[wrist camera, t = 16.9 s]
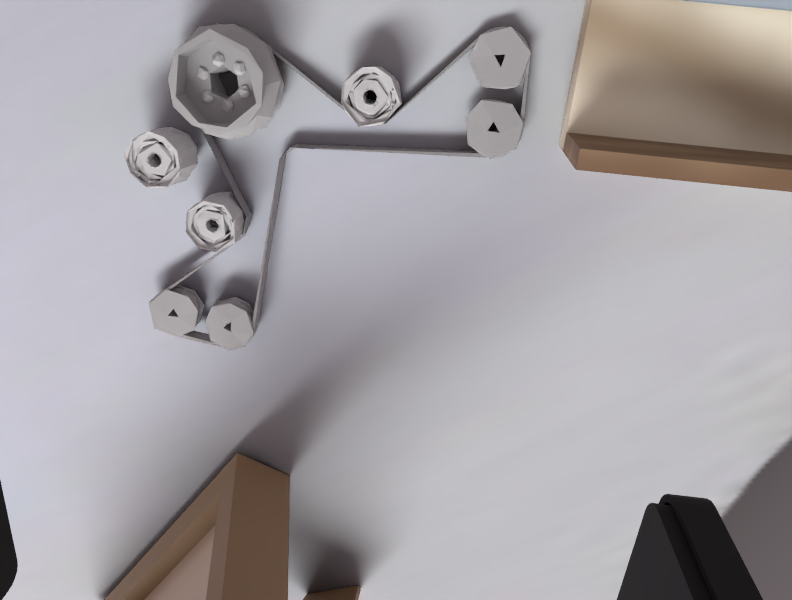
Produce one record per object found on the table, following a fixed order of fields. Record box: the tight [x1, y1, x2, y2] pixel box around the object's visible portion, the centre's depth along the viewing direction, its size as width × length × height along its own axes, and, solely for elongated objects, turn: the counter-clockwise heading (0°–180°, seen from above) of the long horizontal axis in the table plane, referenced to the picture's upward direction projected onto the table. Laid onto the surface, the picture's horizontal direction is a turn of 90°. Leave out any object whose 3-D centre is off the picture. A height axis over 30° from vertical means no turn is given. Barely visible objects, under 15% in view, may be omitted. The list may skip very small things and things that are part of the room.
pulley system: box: [124, 23, 531, 350], centre depth 37 cm, size 27×5×15 cm
